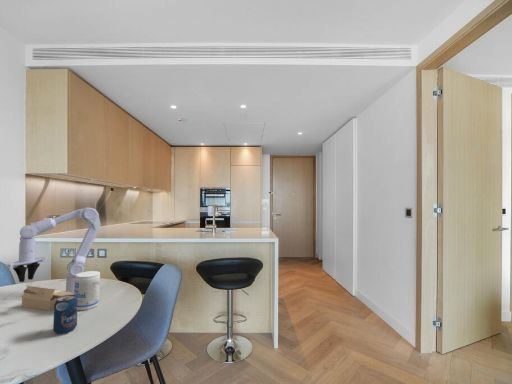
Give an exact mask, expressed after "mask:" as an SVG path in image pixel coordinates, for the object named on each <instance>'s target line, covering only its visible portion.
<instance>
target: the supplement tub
mask: <svg viewBox="0 0 512 384" xmlns="http://www.w3.org/2000/svg"><path fill="white" fill-rule="evenodd" d="M100 288H101V272H100V271H97V270H89V271H88V270H86V271H83V272H82V273H78V274H76V277H75V287H74V295H75V296H76V298H77V300H78V305H77V311H87V310H88V311H89V310H91V309H94V308H96V307H98V305H99V303H100Z"/></svg>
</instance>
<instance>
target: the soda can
mask: <svg viewBox="0 0 512 384" xmlns="http://www.w3.org/2000/svg"><path fill="white" fill-rule="evenodd" d="M77 305H78V300H77V298H76V296H75V295H65V296H61V297H59V298H57V301H56V302H55V304H54V309H53V326H52V327H53V328H52V330H53V332H54V333H55V335H58V336H60V335H61V336H62V335H67V334H69V333H72V332H73V331H75V329H76V328H77V326H78V310H77Z"/></svg>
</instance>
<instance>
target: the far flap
mask: <svg viewBox="0 0 512 384" xmlns="http://www.w3.org/2000/svg"><path fill="white" fill-rule="evenodd" d="M55 290H56V288H49V287H47V288H46V287H39V286H30V285H27V286H26V288H25V289H24V290H23V294H22V296H21V299H22V298H30V299H38V300H45V301H50V300H51V298H52V296H53V294H54V292H55Z"/></svg>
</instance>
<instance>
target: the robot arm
mask: <svg viewBox="0 0 512 384" xmlns="http://www.w3.org/2000/svg"><path fill="white" fill-rule="evenodd" d="M73 219H84V220H85V222H86V223H87V225H88V228H87V230H86V232H85V234H84V237H83V239H82V241H81V243H80V245H79V247H78V249H77V251H76V253H75V255H74V257H73V258H72V259H71V260H70V262H69V263H68V264H67V265H66V269H67V271H68V273H67V274H66V278H65V279H66V281H65V292H72V295H74V287H75V277H76V274H78V273H82V272H85V271H84V270H85V264H86V260H87V259H86V258H87V256H88V254H89V252H90V250H91V247H92V245H93V244H94V241H95V239H96V237H97V235H98V232H99V230H100V228H101V220H100V214H99V212H98V211H97V209H95V208H93V207H89V206H87V207H84V208H79V209H75V210H73V211H70V212H68V213H67V212H66V213H65V214H63V215H60V216H57V217H54V218H51V217H47V218H46V217H43V218H42V219H41V220H39V221H36V222H30V225H29V224H27V225H24V226H22V227H21V228H20V231H19V235H20V237H19V244H18V261H15V262H11V263H7V264H6V269H7V270H8V269H9V270H12V269H13V270H14V272H15V274H16V275H17V278H18V281H19V283H24V282H25V280H26V272H27V280H31V281H33V280H34V277H35V274H36V272H37V270H38V268H39V267H40V264H41V263H42V262H45V260H46V259H45V257H36V242H37V241H36V235H40V234H43V233H46V232H48V231H50V230H53V229H55V228H56V227H57V225H58V224H59V225H60V224H62V223H65V222H67V221H71V220H73Z"/></svg>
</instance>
